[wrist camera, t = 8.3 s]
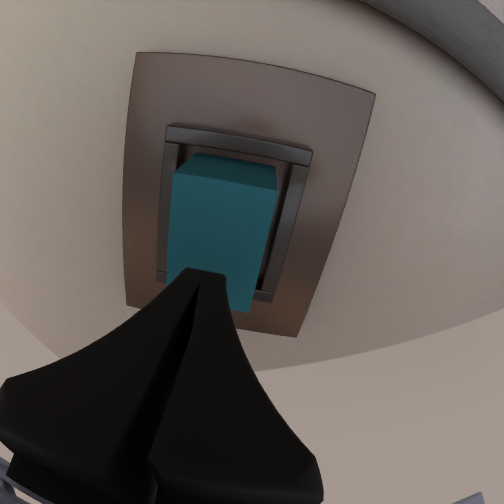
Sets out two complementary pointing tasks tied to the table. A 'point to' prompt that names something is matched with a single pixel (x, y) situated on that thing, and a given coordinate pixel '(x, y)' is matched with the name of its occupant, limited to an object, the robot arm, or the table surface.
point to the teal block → (221, 221)
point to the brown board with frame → (249, 149)
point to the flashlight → (456, 33)
